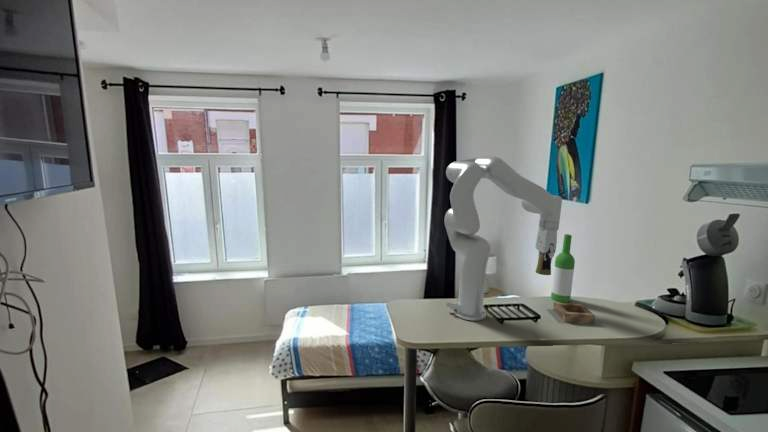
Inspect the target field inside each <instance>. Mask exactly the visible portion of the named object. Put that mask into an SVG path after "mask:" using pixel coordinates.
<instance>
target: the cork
mask: <svg viewBox="0 0 768 432" xmlns="http://www.w3.org/2000/svg"><path fill="white" fill-rule="evenodd" d="M539 253H540V257H539V256H538V258H539V261H538V260H537V265H536V269H535V273H536V274H537V275H542V276H551V275H552V266H551V267H550V270H548V269H545V270H543V269H542V264H543V260H544V253H542V252H540V251H539V250H538V254H539ZM547 253H549V252H547Z"/></svg>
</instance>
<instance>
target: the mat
mask: <svg viewBox="0 0 768 432" xmlns="http://www.w3.org/2000/svg"><path fill="white" fill-rule="evenodd" d="M545 310H546V311H547V313H549V315H551V317H552V318H553V319H554V320H556V322H557V323H558V324H567V325H568V324H569V325H581V326H582V325H583V326H596V327H597V324H595V323H594V324H584V323H569V322H564V321H563V320H562V319H561V318H560V317H559V316H558V315H557V314H556V313H555V312H554V311H553V309H547V308H545Z"/></svg>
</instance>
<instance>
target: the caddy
mask: <svg viewBox="0 0 768 432" xmlns="http://www.w3.org/2000/svg"><path fill="white" fill-rule="evenodd" d="M552 310H553V311H554V312H555V313H556V314H557V315H558V316H559V317H560V318H561V319H562V320H563V321H564V322H569V323H584V324H595V320H596V319H595V318H596V314H594V313H593V312H591V311H590V310H589V309H588V308H587V307H586V306H584V305H583V304H582V303H569V302H567V303H562V302H553V307H552Z"/></svg>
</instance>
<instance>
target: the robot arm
mask: <svg viewBox="0 0 768 432" xmlns="http://www.w3.org/2000/svg"><path fill="white" fill-rule="evenodd" d="M445 175H446V178H447V180H448V181H450V182H451V183H453V185H452V187H451V191H450V193H449V200H450V201H449V202H450V207H451V208H448V210H447V211H446V212H445V215H444V221H443V222H444V227H445V229H446V235H447V237H448V240H449V243H450V246H451V248H452V250H453V251H454V252H455V253H457V254H458V255H461V256H462V257H464V260H463V262H462V264H461V267H460V272H459V286H458V288H459V289H458V290H459V291H458V299H456V301H454V302H449V301H446V302H445V307H446V308H449V309H450V310H453V314H454V315H455V317H457V318H460V319H462V320H466V321H472V322H473V321H475V322H476V321H478V322H479V321H482V320H485V319H486V318H487V313H486V311H485V310H484V309H483V307H484V297H485V287H486V286H485V285H486V275H487V274H486V273H487V268H488V267H487V266H488V261H489V259H490V255H491V246H490V243H489V242H488V241H487V240H486V239H485V238H484V237H481V236H480V235H477V233H478V232H479V231H480V227H481V222H480V218H479V214H478V210H477V207H476V203H475V199H474V193H475V189H476V188H477V186H478V184H479V183H480V181H481V179H487V180H489V181H491V182H492V183H493V184H494V185H495V186H497V187H498V188H499V189H500V190H502V191H503V192H504V193H505V194H507V195H509V196H511V197H514V198H516V199H520V200H521V207H522V208H523V210H525V211H526V212H529V213H533V214H539V223H538V230H537V235H536V241H535V249H536V250H537V251H538V260H537V262H538V261H539V257H540V253H539V251H540V252H542V253H544V260H543V264H542V269H543V270H545V269H548V270H550V267H551V268H552V261H553V258H554V256H555V254H556V251H557V243H558V231H559V230H560V229H559V228H560V222H561V214H562V213H561V212H562V204H563V198H562V197H561V196H559V195H554V194H551V193H550V192H549V191H547V189H545V188H544V187H543V186H541V185H538V184H537V183H535V182H533V181H531V180H530V179H527V178H526V177H524V176H522V175H521V174H520V173H518V172H517V170H515V169H513V168H512V167H511V166H510V165H509V164H508V163H506V161H504V160H503V159H502V158H501V157H498V156H477V157H473V158H467V159H466V158H465V159H461V160H456V161H455V160H454V161H453V162H451V163H450V164H449V165H448V166H447V167H446V170H445ZM547 252H549V253H547Z"/></svg>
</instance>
